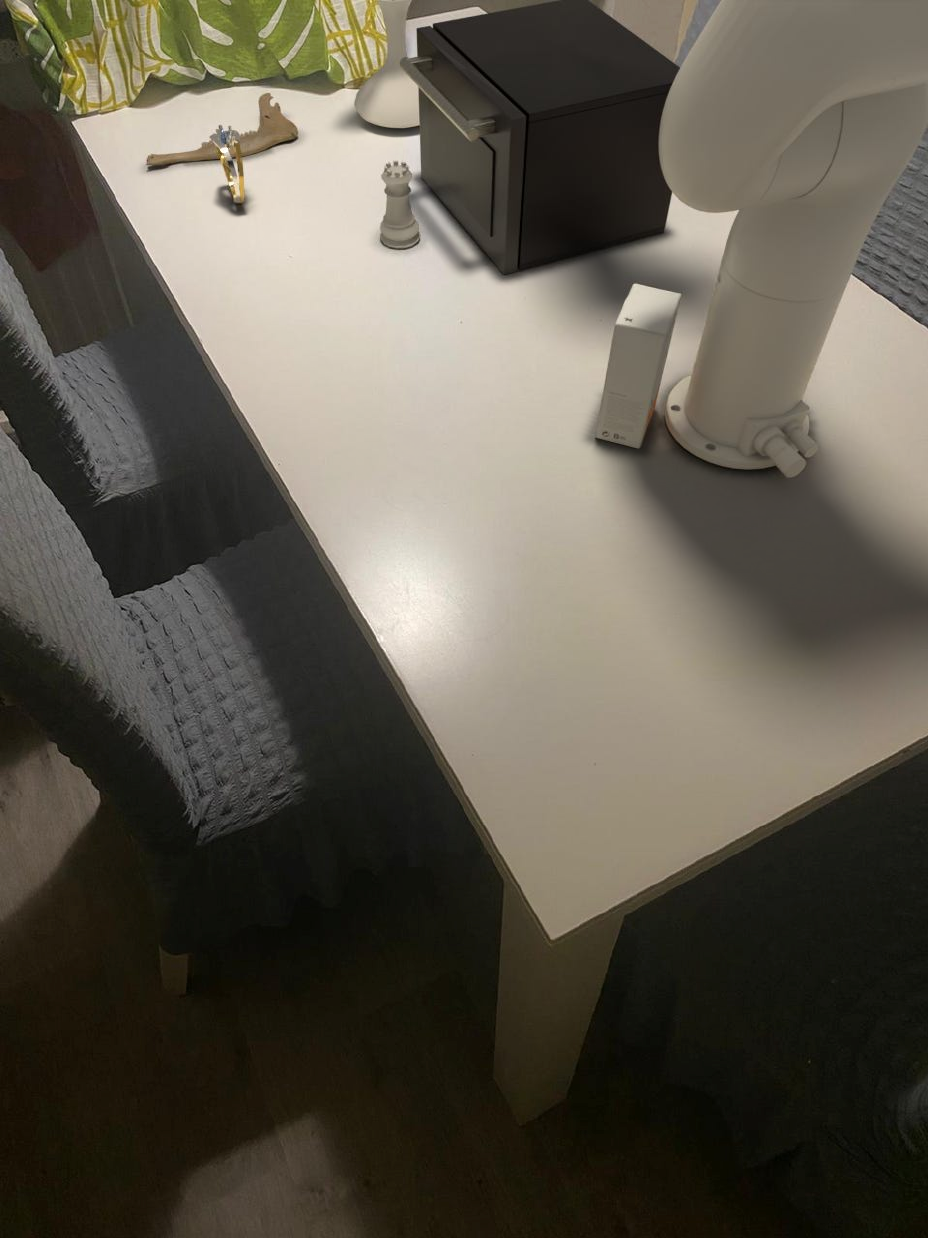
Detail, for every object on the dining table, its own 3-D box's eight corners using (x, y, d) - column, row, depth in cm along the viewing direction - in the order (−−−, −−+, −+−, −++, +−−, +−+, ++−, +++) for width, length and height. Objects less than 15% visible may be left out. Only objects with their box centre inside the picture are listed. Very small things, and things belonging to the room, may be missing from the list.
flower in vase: (405, 87, 120) (394, -153, 100) (462, 117, 115) (463, -129, 95) (327, 118, 115) (299, -129, 95) (384, 151, 110) (367, -102, 90)
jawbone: (319, 133, 113) (318, 116, 112) (194, 200, 104) (191, 184, 103) (269, 105, 116) (267, 88, 114) (143, 168, 107) (139, 151, 105)
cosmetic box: (640, 450, 79) (666, 335, 69) (593, 439, 80) (613, 323, 70) (656, 407, 82) (683, 291, 73) (611, 396, 83) (631, 280, 73)
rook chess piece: (423, 229, 100) (420, 156, 93) (417, 252, 97) (415, 178, 90) (383, 227, 100) (378, 154, 93) (377, 249, 97) (371, 176, 91)
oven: (519, 272, 95) (529, 113, 82) (435, 174, 107) (432, 22, 94) (664, 233, 99) (695, 77, 87) (568, 144, 111) (582, -5, 98)
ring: (257, 213, 101) (243, 141, 95) (229, 218, 101) (213, 146, 94) (245, 183, 105) (232, 111, 99) (218, 187, 105) (202, 116, 98)
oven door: (477, 282, 93) (480, 126, 81) (396, 182, 105) (388, 32, 93) (517, 271, 95) (526, 116, 82) (433, 173, 106) (430, 24, 94)
